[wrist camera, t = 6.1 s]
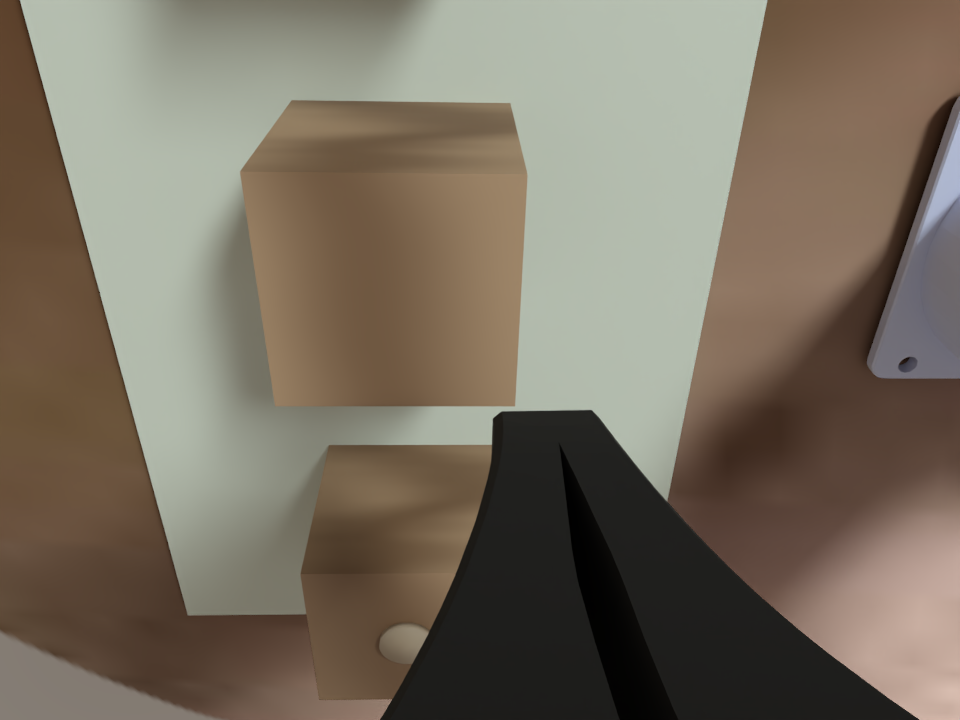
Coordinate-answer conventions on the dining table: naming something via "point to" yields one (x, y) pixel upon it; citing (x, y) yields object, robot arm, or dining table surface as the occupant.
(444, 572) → the one dot block
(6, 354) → the dining table surface
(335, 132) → the plain block
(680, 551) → the robot arm
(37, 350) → the dining table surface
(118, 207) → the sage mat
